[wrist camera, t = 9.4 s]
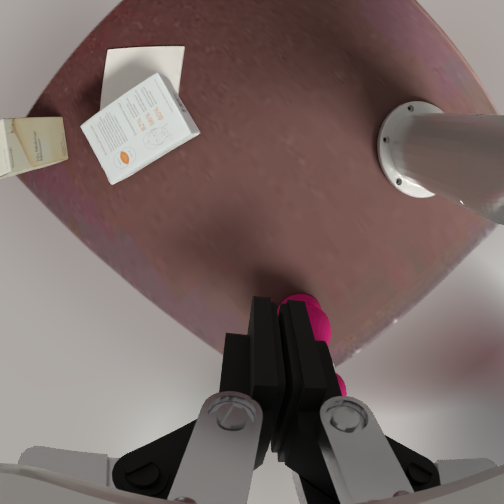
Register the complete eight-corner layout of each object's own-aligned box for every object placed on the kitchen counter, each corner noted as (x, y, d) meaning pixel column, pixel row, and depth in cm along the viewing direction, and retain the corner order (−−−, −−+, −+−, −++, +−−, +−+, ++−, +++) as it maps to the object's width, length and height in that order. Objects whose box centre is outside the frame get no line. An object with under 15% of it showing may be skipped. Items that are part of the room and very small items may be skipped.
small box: (170, 77, 32) (99, 124, 34) (157, 70, 27) (78, 125, 29) (201, 134, 35) (128, 177, 37) (193, 135, 30) (110, 186, 31)
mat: (184, 47, 31) (184, 46, 31) (173, 142, 35) (172, 142, 35) (109, 50, 31) (107, 49, 30) (99, 140, 35) (97, 140, 35)
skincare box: (69, 158, 36) (12, 174, 24) (45, 166, 36) (-12, 185, 25) (62, 114, 33) (4, 117, 22) (38, 124, 34) (-21, 131, 22)
